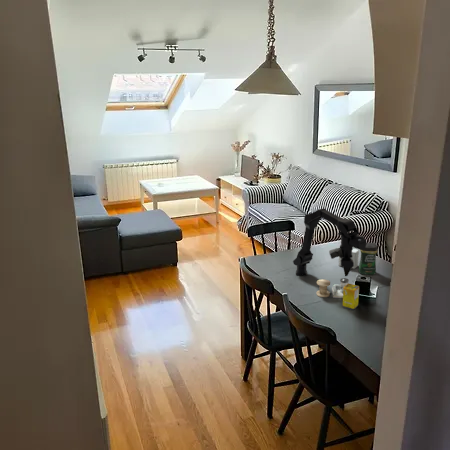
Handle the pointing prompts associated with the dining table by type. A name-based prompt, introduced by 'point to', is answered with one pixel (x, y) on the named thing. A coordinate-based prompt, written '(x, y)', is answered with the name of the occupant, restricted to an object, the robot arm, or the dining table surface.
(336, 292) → the white rectangular tray
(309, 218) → the robot arm
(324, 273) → the dining table surface
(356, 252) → the skincare box
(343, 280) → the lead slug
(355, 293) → the supplement box
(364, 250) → the coffee jar
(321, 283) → the spool
